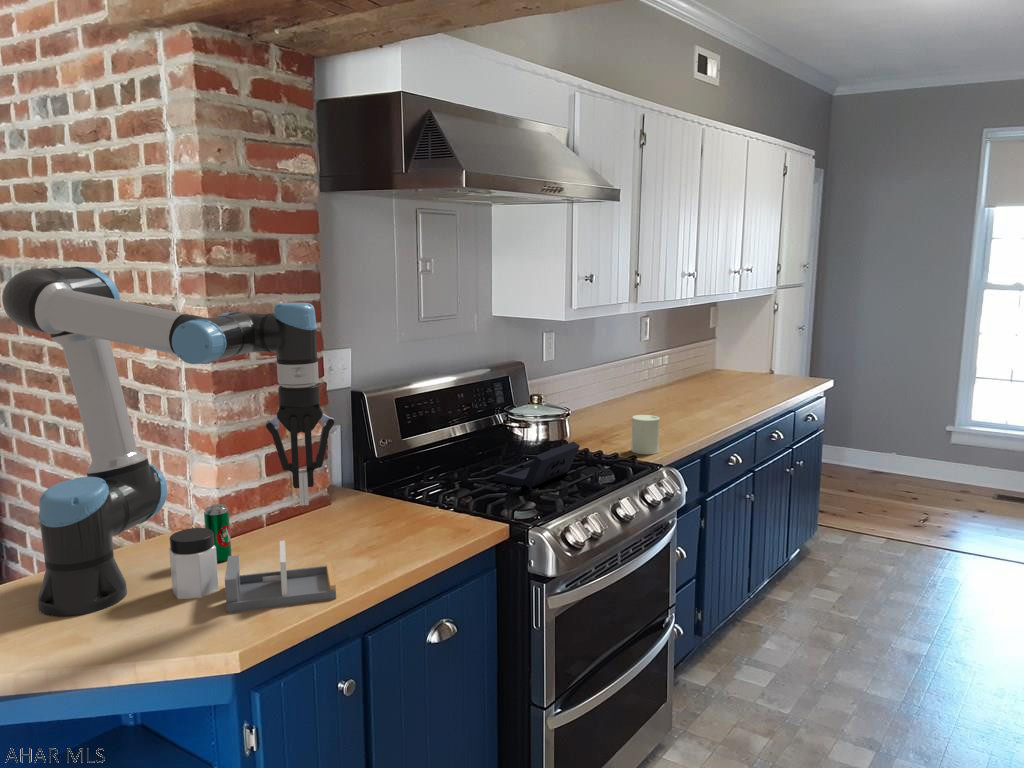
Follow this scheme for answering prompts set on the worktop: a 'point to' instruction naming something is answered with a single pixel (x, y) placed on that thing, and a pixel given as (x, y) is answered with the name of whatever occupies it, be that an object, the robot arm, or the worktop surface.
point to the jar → (193, 563)
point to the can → (645, 434)
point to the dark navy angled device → (540, 467)
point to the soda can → (219, 529)
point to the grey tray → (276, 587)
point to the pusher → (283, 571)
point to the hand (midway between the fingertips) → (304, 503)
